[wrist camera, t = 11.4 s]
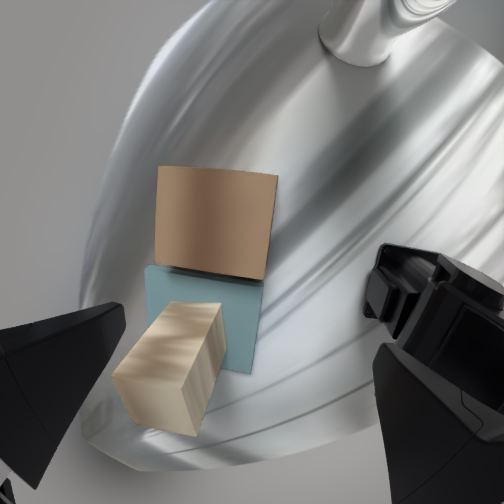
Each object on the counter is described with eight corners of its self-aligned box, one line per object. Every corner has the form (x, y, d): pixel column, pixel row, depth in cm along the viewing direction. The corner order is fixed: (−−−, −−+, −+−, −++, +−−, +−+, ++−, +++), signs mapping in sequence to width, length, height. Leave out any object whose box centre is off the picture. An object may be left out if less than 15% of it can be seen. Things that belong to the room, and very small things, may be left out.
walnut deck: (278, 175, 19) (277, 175, 16) (266, 265, 21) (263, 279, 18) (175, 166, 20) (158, 165, 17) (170, 251, 22) (155, 262, 19)
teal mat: (264, 282, 22) (263, 287, 21) (251, 366, 24) (250, 373, 23) (149, 264, 23) (144, 268, 22) (154, 346, 25) (150, 352, 24)
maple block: (221, 303, 22) (181, 389, 12) (227, 347, 23) (197, 436, 13) (170, 301, 22) (110, 375, 13) (179, 344, 23) (134, 423, 14)
